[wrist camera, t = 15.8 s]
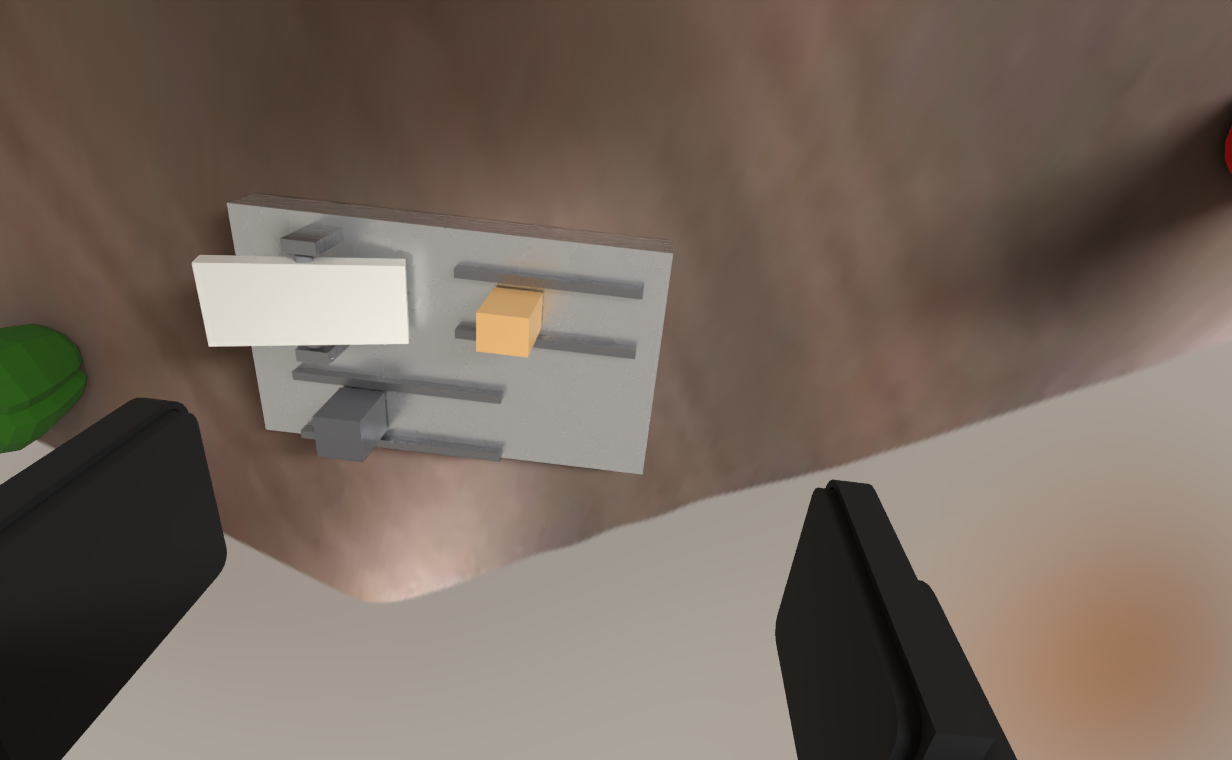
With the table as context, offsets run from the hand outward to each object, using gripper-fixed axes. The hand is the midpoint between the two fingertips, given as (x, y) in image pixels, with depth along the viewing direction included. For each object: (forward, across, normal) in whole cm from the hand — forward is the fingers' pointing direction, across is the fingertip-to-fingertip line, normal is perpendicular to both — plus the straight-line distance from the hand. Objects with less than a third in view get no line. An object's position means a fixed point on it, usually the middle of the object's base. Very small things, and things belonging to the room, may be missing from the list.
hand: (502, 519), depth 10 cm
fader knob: (+30, +16, +17) cm, 38 cm away
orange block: (+30, +6, +8) cm, 32 cm away
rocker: (+27, +18, +8) cm, 34 cm away
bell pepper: (+34, +41, +18) cm, 56 cm away
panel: (+33, +10, +12) cm, 37 cm away
